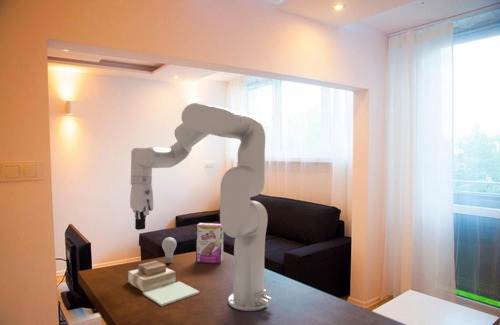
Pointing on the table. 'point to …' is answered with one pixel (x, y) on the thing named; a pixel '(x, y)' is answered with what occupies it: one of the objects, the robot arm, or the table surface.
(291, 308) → the table surface
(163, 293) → the sage mat
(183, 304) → the table surface
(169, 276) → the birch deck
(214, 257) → the candy bar box
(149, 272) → the walnut block
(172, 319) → the table surface
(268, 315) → the table surface
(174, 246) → the lightbulb
